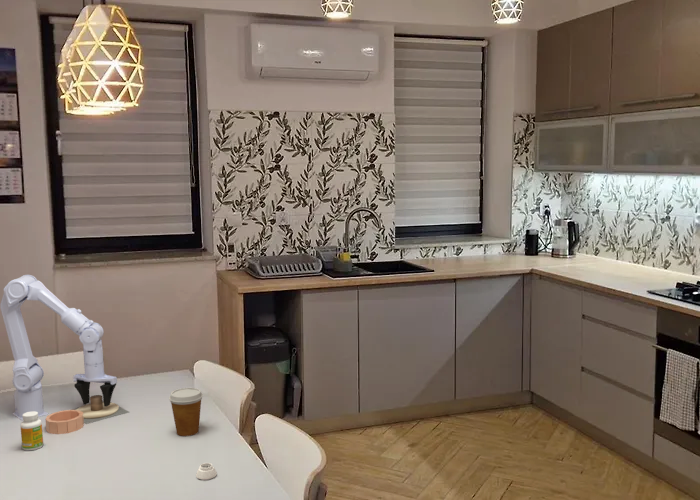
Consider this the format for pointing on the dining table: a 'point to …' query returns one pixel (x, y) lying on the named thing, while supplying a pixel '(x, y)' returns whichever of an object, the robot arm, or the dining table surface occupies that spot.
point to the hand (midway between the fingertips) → (96, 404)
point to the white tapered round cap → (206, 471)
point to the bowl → (64, 421)
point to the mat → (119, 412)
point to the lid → (98, 408)
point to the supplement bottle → (31, 431)
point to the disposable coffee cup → (186, 410)
